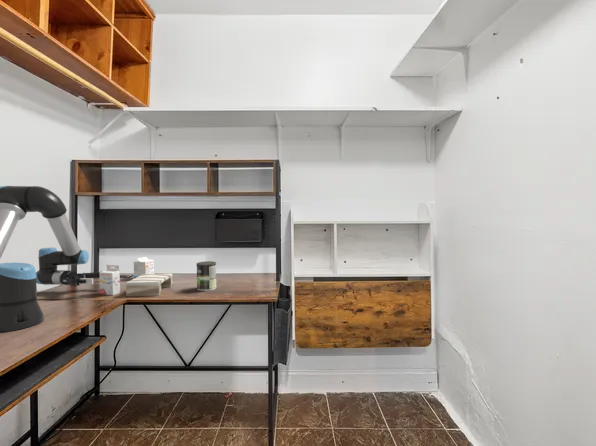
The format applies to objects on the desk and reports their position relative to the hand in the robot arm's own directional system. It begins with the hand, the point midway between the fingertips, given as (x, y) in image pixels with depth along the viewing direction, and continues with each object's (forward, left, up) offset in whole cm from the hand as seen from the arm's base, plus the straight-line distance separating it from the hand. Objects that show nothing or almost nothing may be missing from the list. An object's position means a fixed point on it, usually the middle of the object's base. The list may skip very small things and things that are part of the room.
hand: (102, 278), depth 163 cm
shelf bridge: (+3, -23, -8) cm, 25 cm away
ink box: (+33, -7, -8) cm, 34 cm away
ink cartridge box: (-1, -4, -8) cm, 9 cm away
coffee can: (+5, -52, -8) cm, 53 cm away
